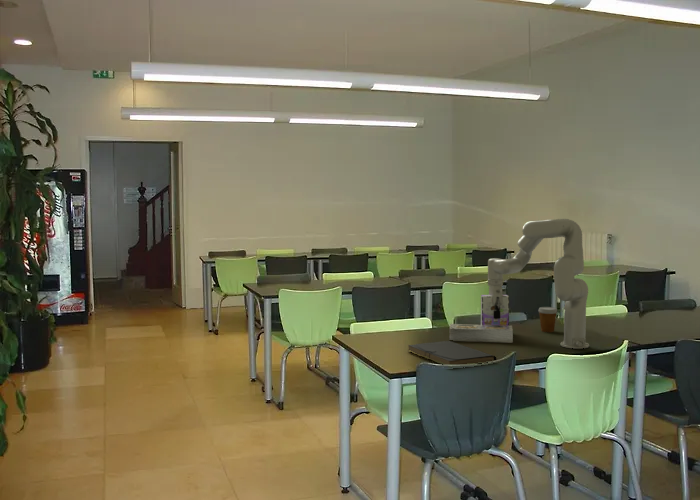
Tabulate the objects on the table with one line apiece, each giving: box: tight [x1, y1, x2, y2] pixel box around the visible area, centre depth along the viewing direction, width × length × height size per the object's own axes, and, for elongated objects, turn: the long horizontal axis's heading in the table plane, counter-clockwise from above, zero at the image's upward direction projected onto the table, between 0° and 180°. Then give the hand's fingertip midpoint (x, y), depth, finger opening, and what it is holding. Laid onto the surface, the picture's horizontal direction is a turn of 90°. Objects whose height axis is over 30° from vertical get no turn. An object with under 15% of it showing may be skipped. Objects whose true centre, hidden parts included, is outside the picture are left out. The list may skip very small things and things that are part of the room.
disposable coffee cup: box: [537, 306, 558, 333], centre depth 346 cm, size 10×10×12 cm
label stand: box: [448, 323, 514, 344], centre depth 329 cm, size 30×12×6 cm, turn 79°
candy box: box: [480, 294, 510, 326], centre depth 343 cm, size 14×6×16 cm, turn 85°
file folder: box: [408, 340, 497, 364], centre depth 294 cm, size 33×4×24 cm
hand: (494, 317), depth 343 cm, fingers closed on candy box, 6 cm apart
